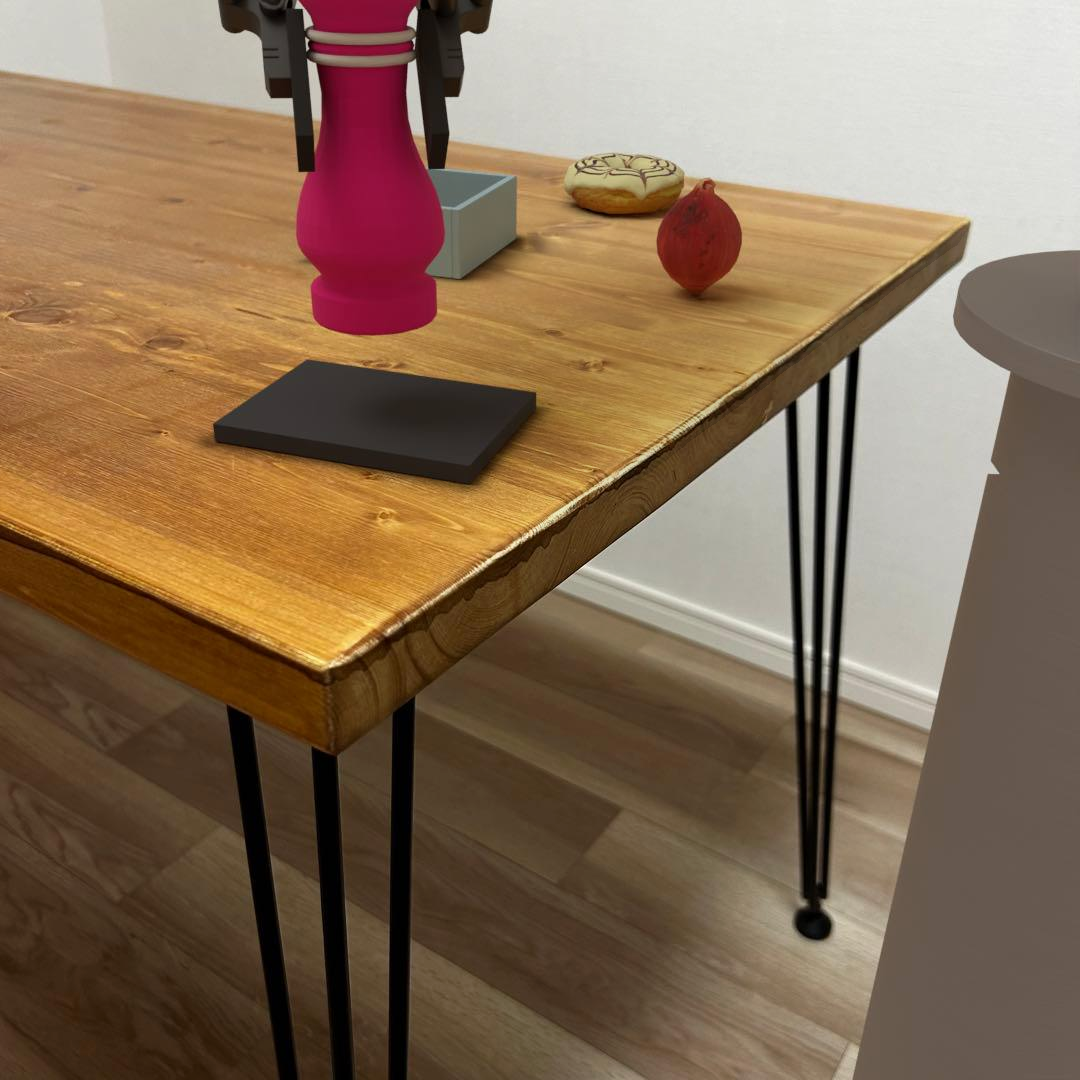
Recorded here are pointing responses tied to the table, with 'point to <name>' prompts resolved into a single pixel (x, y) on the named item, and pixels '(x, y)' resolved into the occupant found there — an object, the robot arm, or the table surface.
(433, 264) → the crate
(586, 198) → the decorated donut
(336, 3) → the pepper mill
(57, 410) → the table surface
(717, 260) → the onion
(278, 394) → the mat
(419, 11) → the robot arm
